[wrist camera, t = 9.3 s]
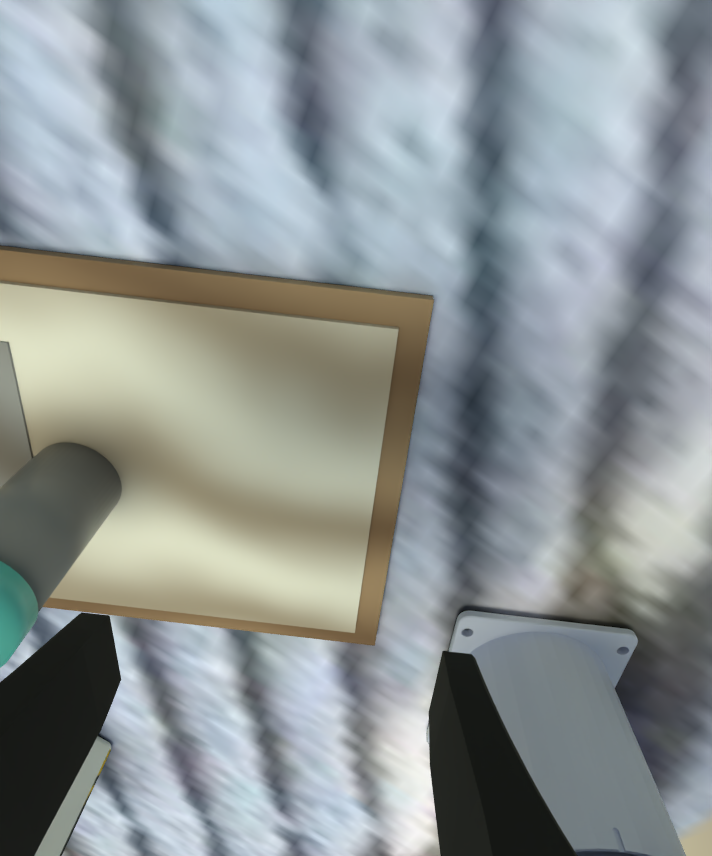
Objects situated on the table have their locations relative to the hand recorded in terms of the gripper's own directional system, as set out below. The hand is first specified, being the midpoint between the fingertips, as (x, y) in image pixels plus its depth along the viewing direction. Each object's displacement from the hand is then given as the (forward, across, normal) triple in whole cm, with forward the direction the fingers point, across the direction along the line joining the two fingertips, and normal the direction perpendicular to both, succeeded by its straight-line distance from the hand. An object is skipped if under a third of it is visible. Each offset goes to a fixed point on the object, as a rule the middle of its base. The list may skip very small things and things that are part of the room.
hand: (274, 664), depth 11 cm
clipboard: (+10, +6, +2) cm, 12 cm away
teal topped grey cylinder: (+9, +9, +2) cm, 13 cm away
